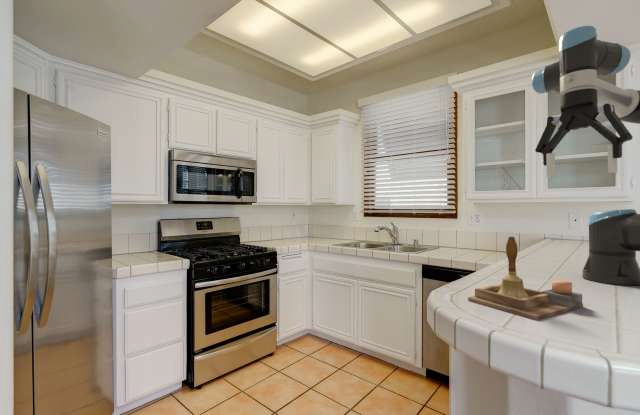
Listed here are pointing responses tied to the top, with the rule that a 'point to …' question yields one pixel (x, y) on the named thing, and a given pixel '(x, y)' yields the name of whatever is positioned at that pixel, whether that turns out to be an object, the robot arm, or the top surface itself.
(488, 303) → the station
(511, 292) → the hand bell
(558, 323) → the top surface
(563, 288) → the button
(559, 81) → the robot arm
